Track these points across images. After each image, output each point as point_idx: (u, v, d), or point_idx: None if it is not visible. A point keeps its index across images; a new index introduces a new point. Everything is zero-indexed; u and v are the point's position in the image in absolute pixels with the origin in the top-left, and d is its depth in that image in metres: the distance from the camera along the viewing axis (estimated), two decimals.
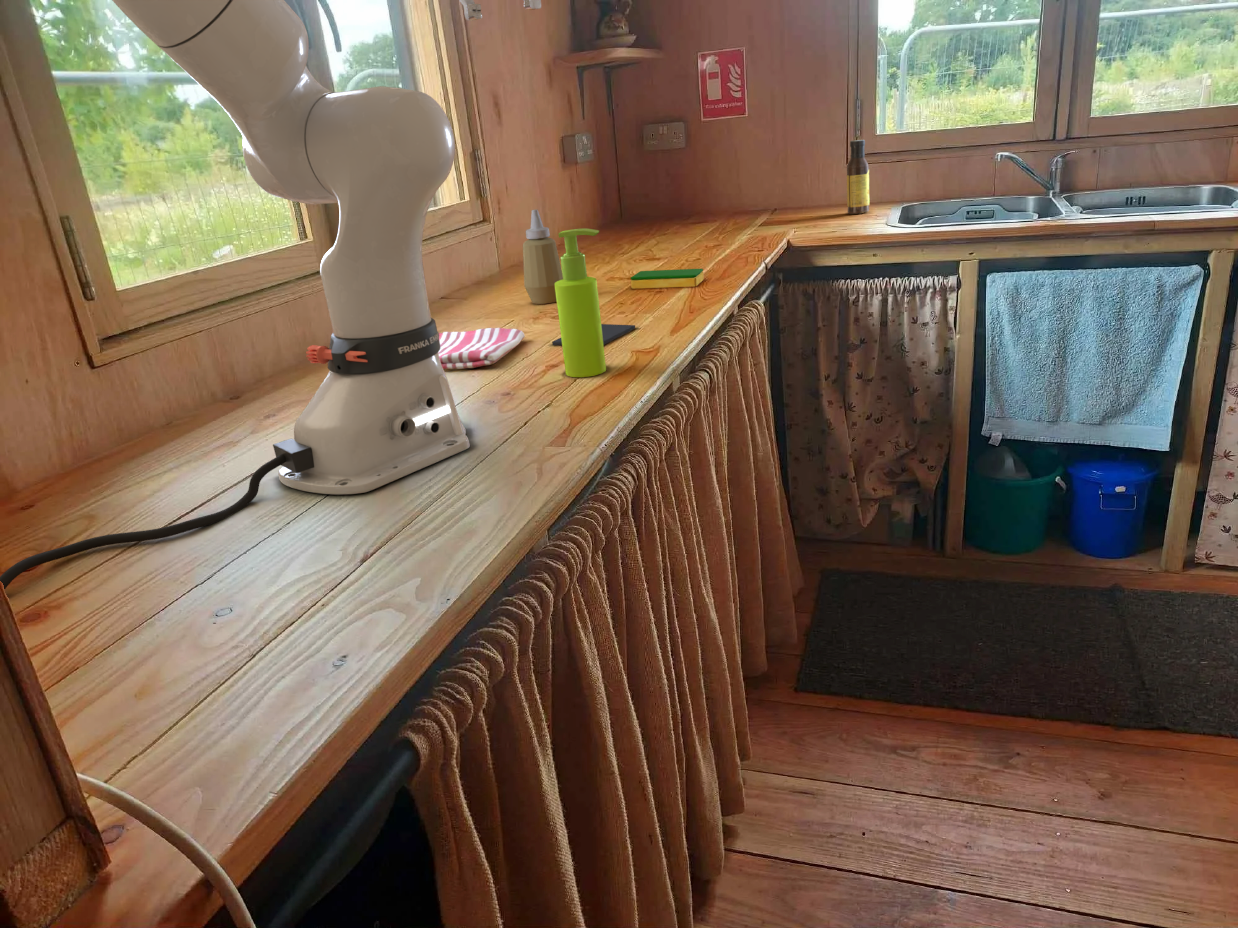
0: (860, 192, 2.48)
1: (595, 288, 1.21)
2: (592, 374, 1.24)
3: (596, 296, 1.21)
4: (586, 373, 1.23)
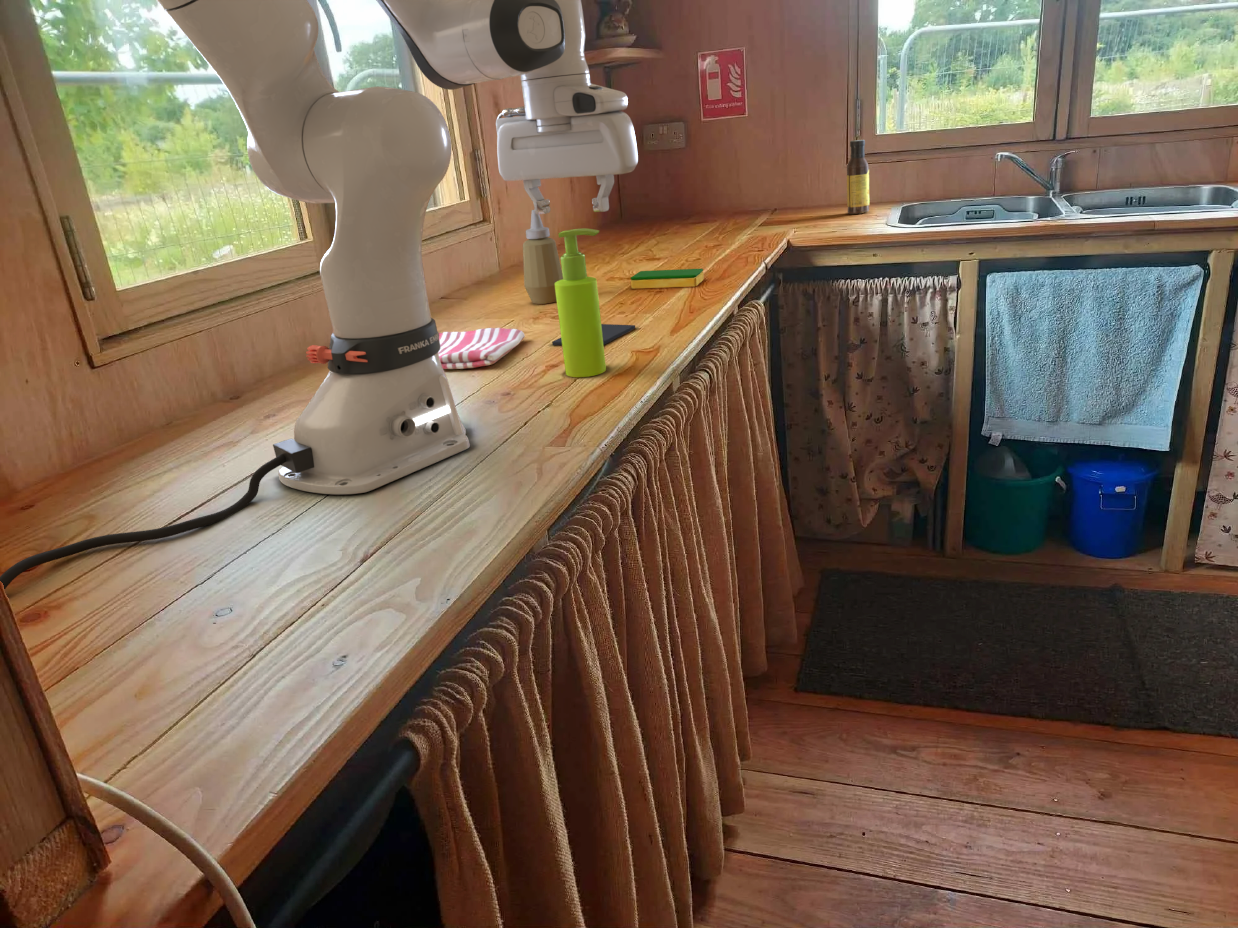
0: (860, 192, 2.48)
1: (595, 288, 1.21)
2: (592, 374, 1.24)
3: (596, 296, 1.21)
4: (586, 373, 1.23)
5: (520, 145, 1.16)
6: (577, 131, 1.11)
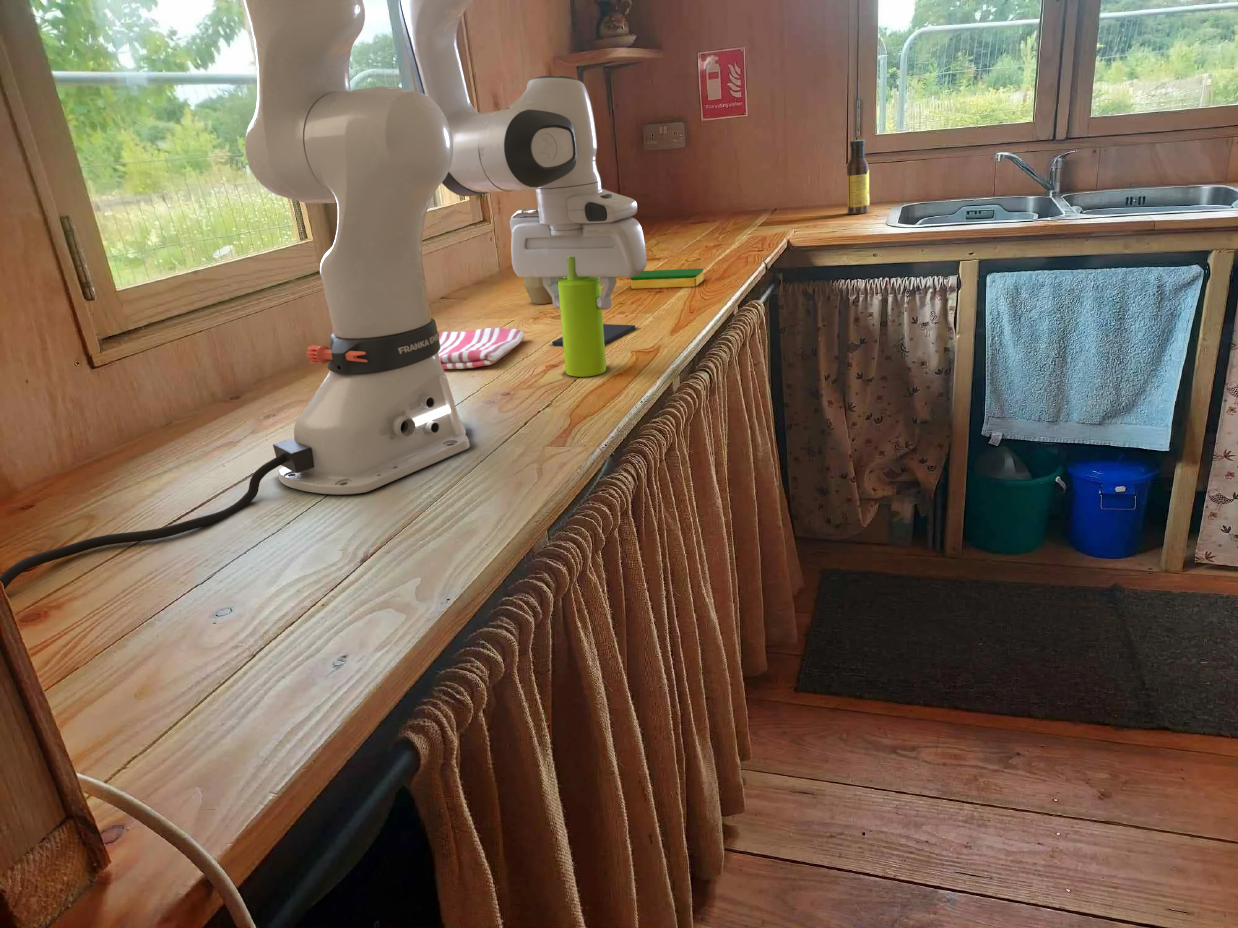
0: (860, 192, 2.48)
1: (599, 289, 1.21)
2: (592, 374, 1.24)
3: None
4: (586, 373, 1.23)
5: (534, 244, 1.21)
6: (589, 235, 1.16)
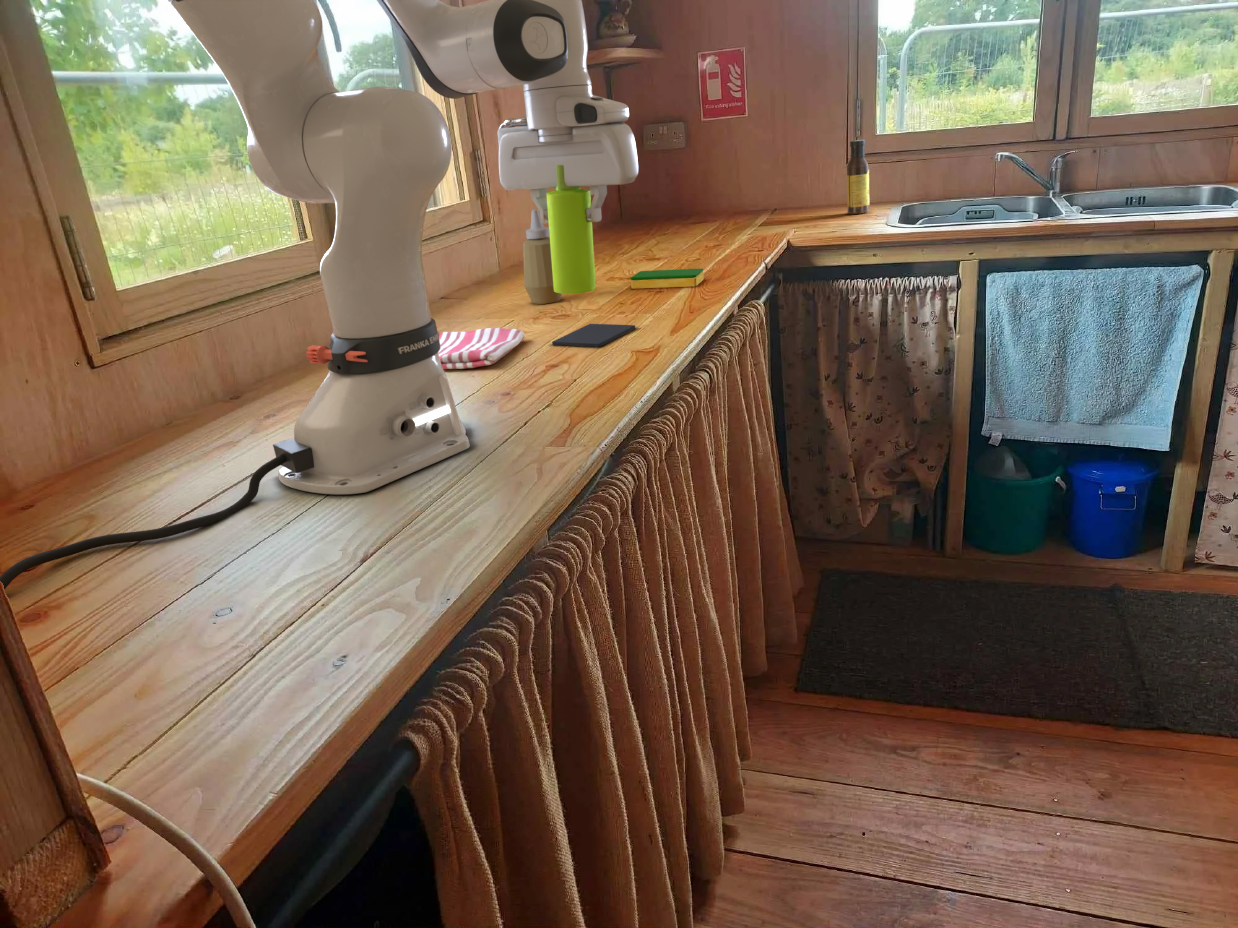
0: (860, 192, 2.48)
1: (589, 200, 1.16)
2: (581, 291, 1.19)
3: None
4: (575, 290, 1.19)
5: (521, 154, 1.17)
6: (578, 141, 1.11)
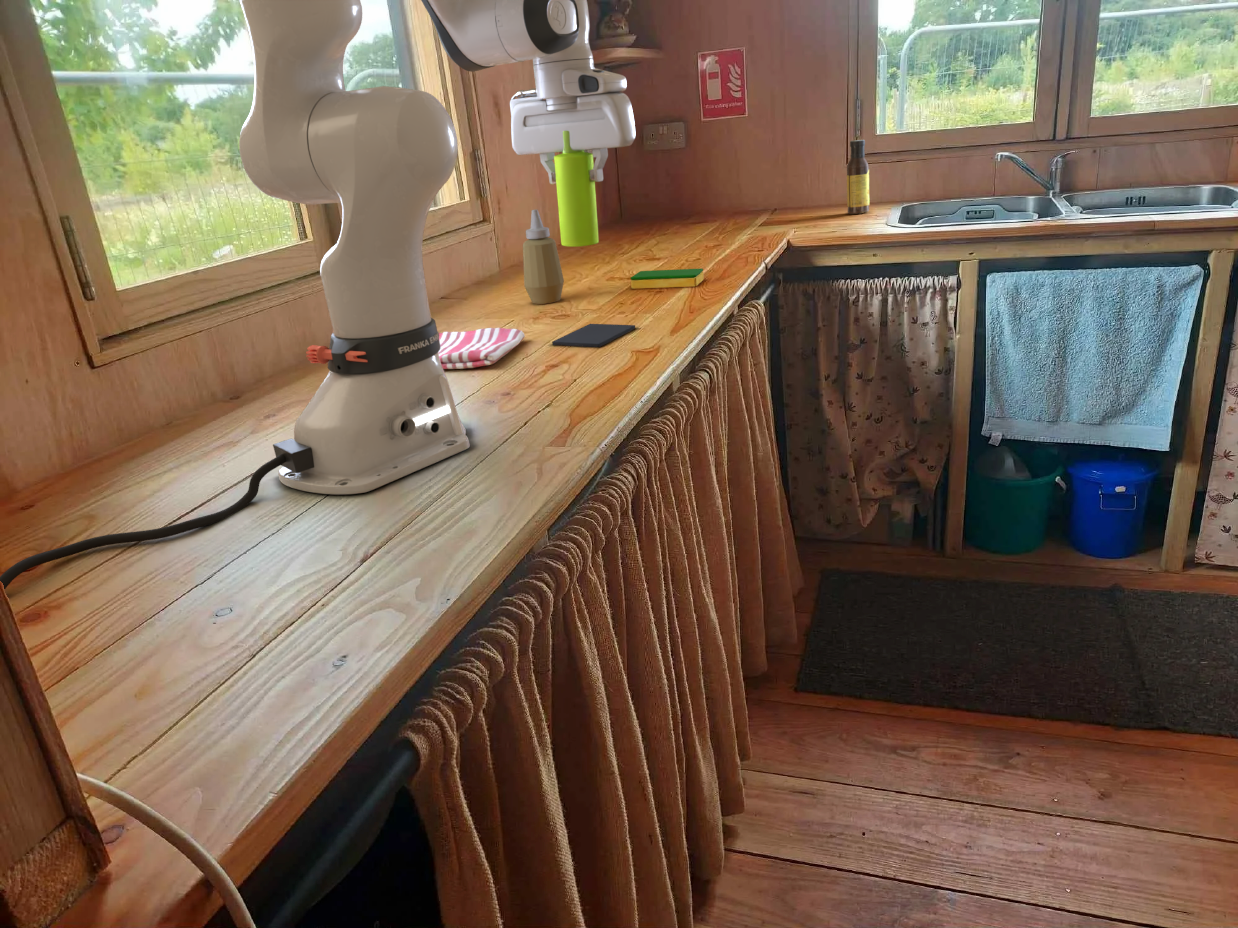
0: (860, 192, 2.48)
1: (592, 162, 1.31)
2: (586, 244, 1.34)
3: None
4: (580, 243, 1.34)
5: (531, 122, 1.31)
6: (582, 109, 1.26)
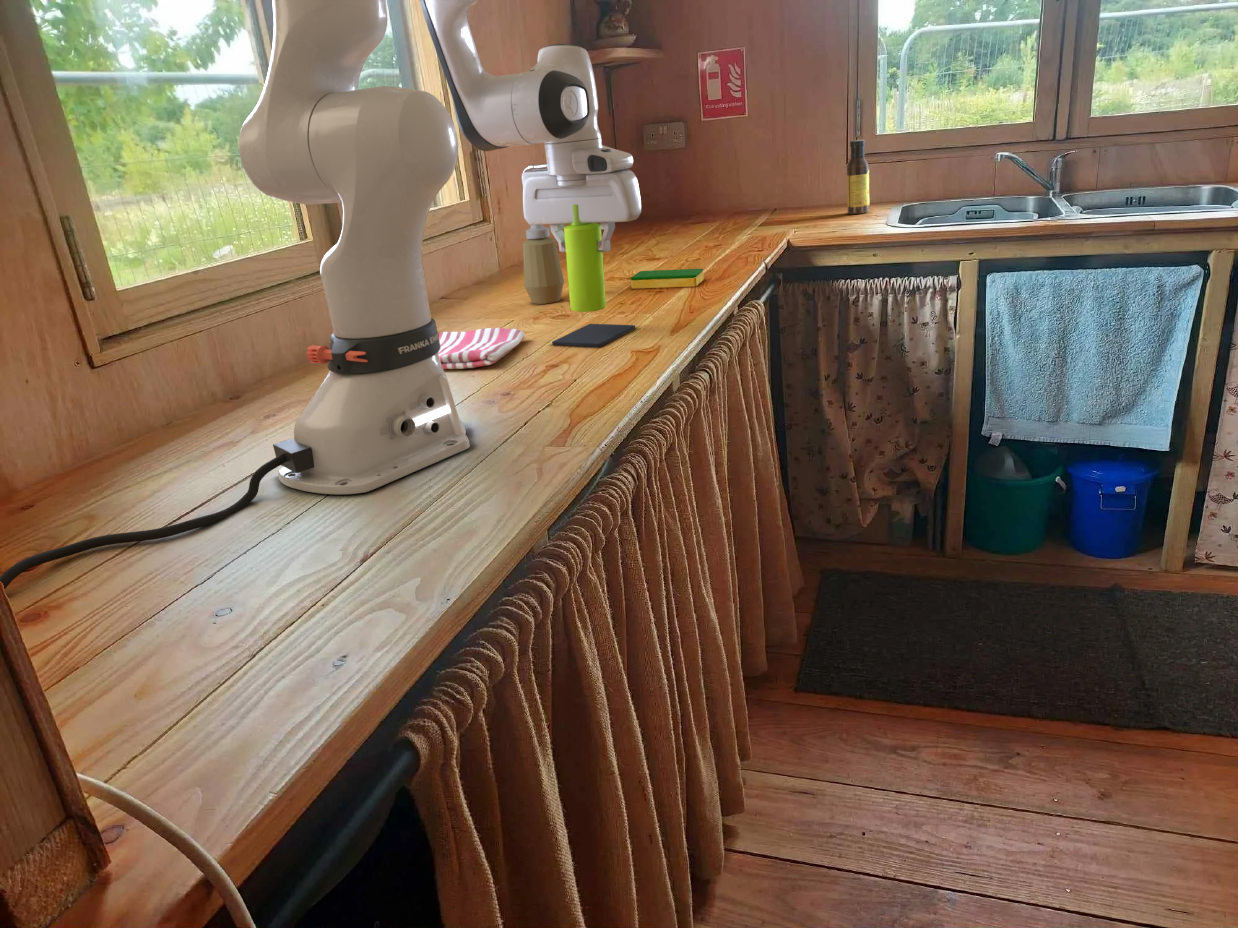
0: (860, 192, 2.48)
1: (600, 233, 1.38)
2: (594, 309, 1.41)
3: None
4: (588, 308, 1.40)
5: (542, 195, 1.38)
6: (591, 185, 1.33)
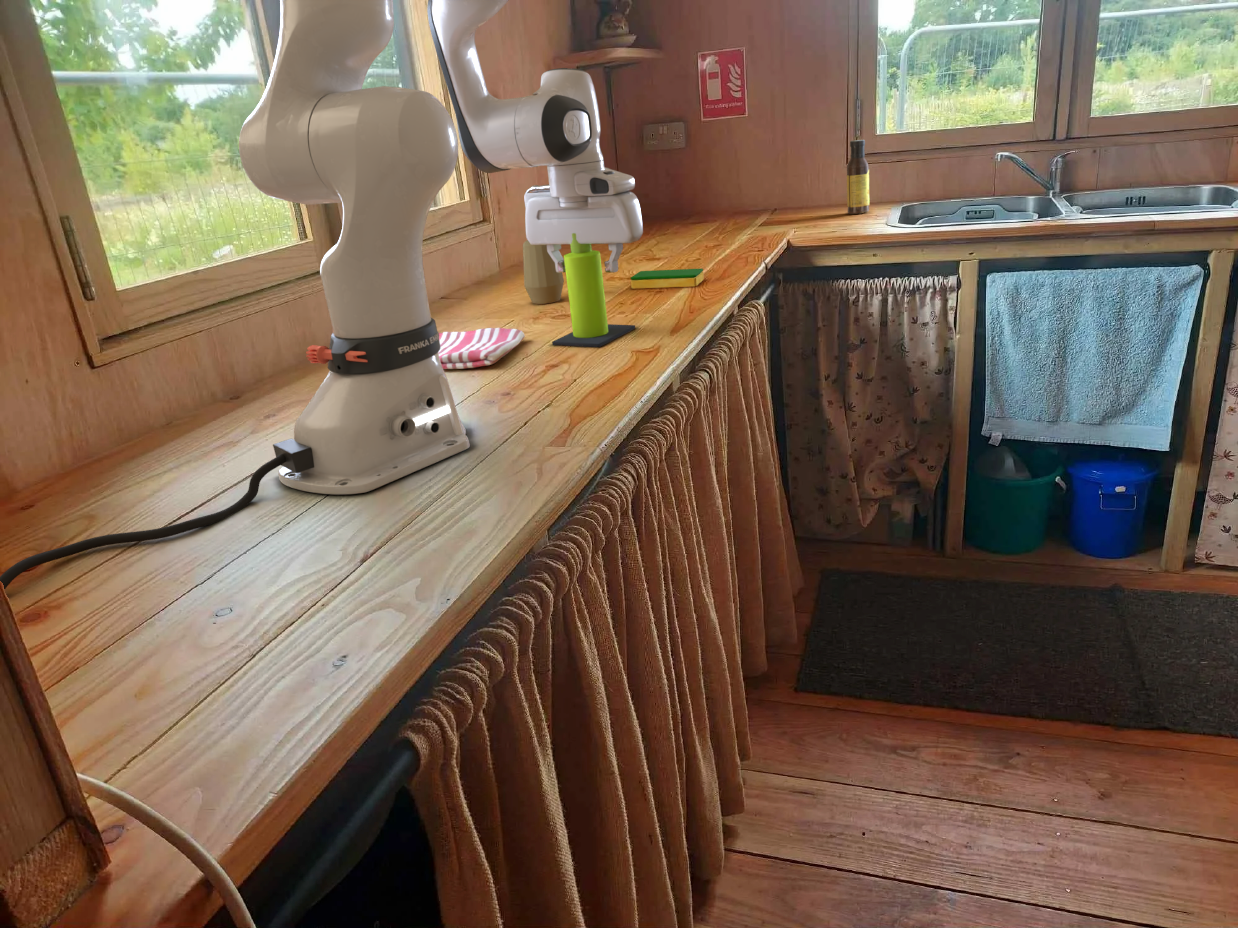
0: (860, 192, 2.48)
1: (599, 260, 1.39)
2: (596, 335, 1.42)
3: (600, 267, 1.40)
4: (591, 334, 1.42)
5: (545, 216, 1.39)
6: (593, 207, 1.34)
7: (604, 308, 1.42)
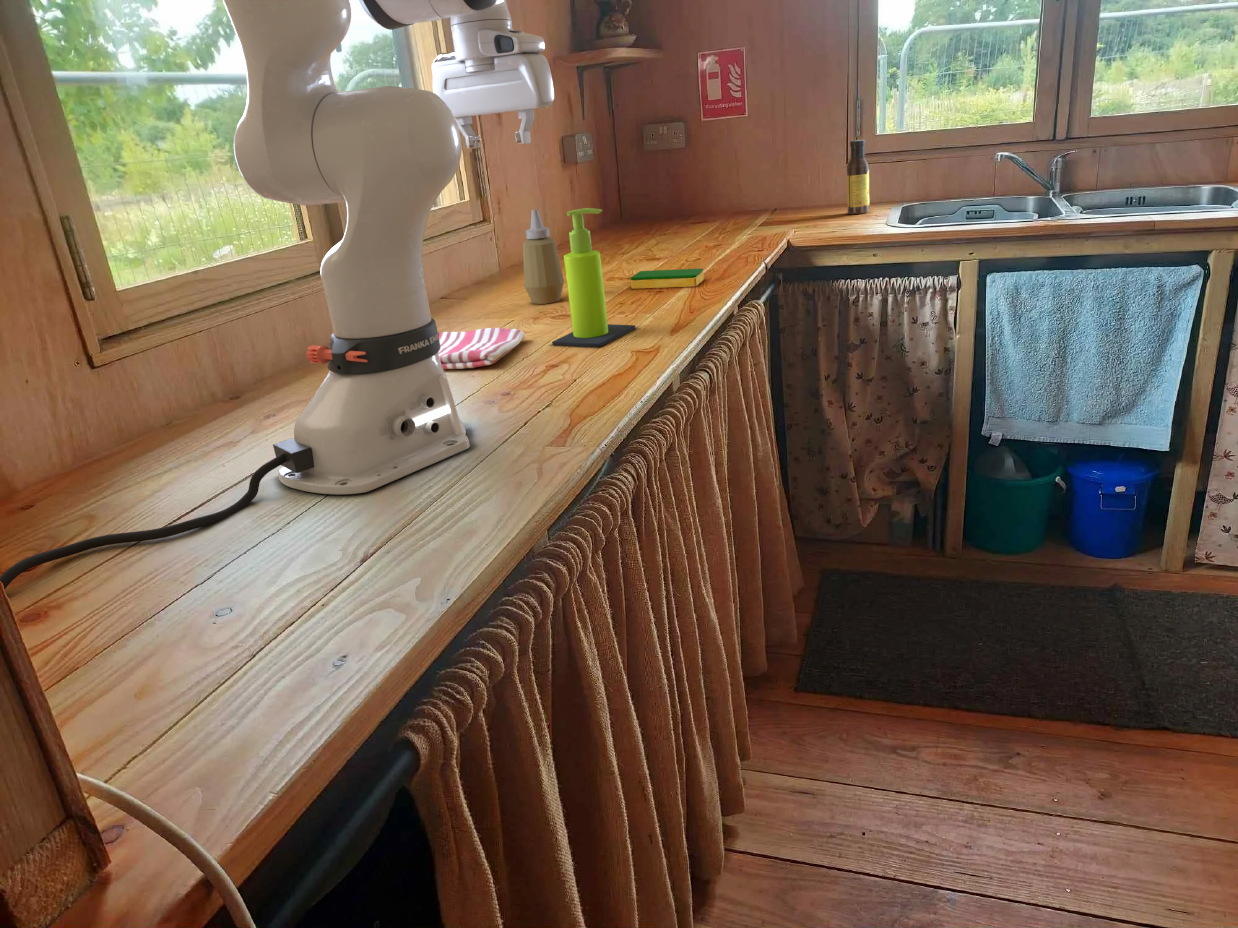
0: (860, 192, 2.48)
1: (599, 260, 1.39)
2: (596, 335, 1.42)
3: (600, 267, 1.40)
4: (591, 334, 1.42)
5: (452, 85, 1.31)
6: (500, 70, 1.25)
7: (604, 308, 1.42)
